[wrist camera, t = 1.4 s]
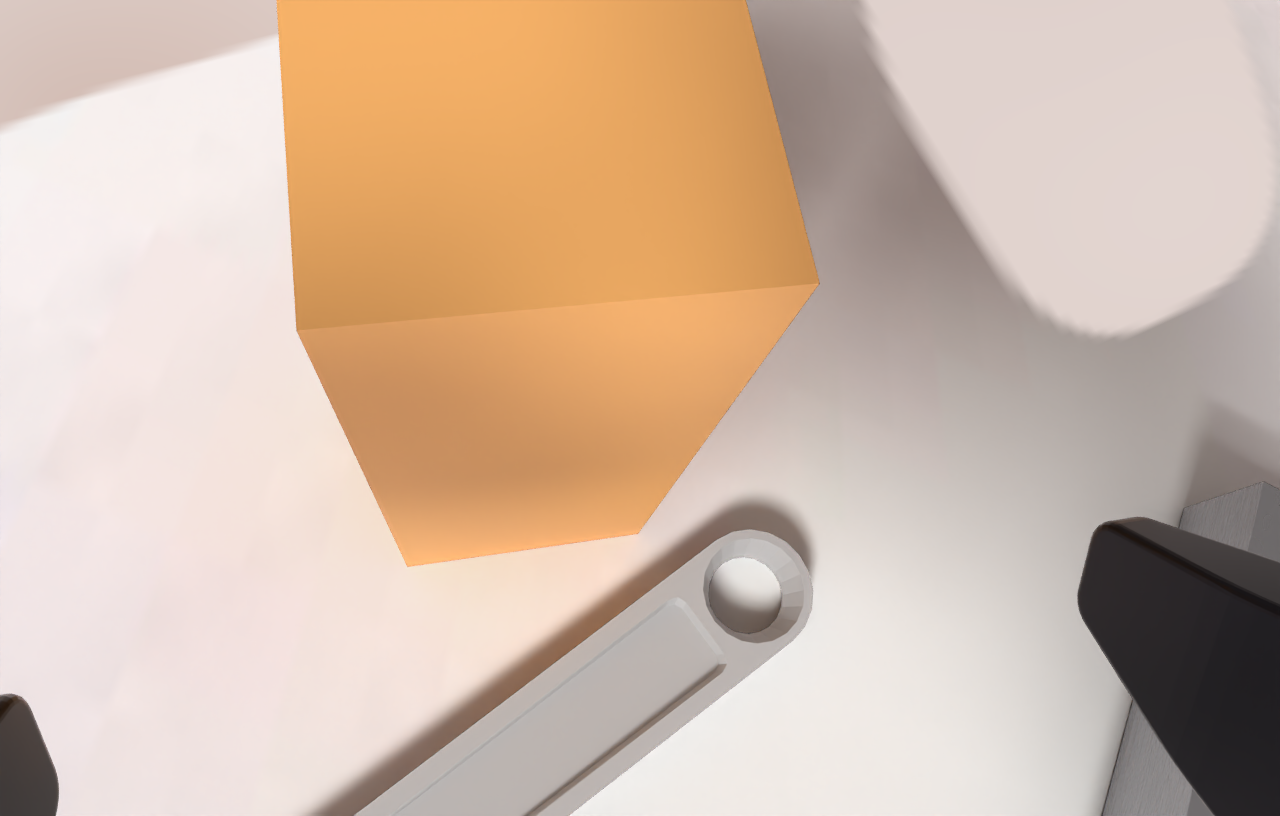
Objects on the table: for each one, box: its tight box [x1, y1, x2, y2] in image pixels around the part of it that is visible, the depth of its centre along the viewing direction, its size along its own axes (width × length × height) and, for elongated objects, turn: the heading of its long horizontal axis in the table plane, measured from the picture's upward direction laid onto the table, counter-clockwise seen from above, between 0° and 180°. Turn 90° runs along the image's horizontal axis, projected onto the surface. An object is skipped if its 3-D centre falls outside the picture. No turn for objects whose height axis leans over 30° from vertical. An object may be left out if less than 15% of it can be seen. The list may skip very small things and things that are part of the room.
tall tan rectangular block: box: [277, 0, 820, 567], centre depth 15 cm, size 5×5×12 cm
